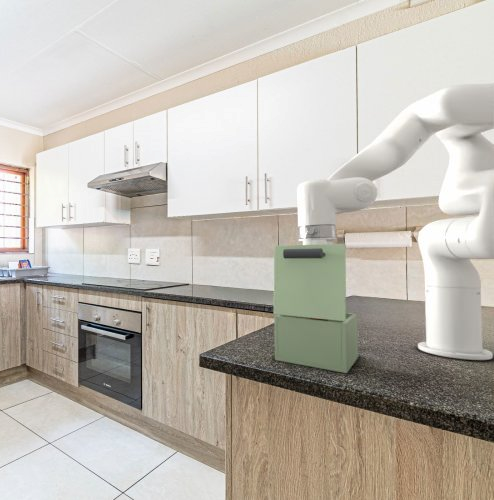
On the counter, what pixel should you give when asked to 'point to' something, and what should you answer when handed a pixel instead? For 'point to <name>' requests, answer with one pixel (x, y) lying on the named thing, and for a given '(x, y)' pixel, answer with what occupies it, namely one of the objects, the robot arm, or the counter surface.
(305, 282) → the lid
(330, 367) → the chest
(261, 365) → the counter surface
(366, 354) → the counter surface
